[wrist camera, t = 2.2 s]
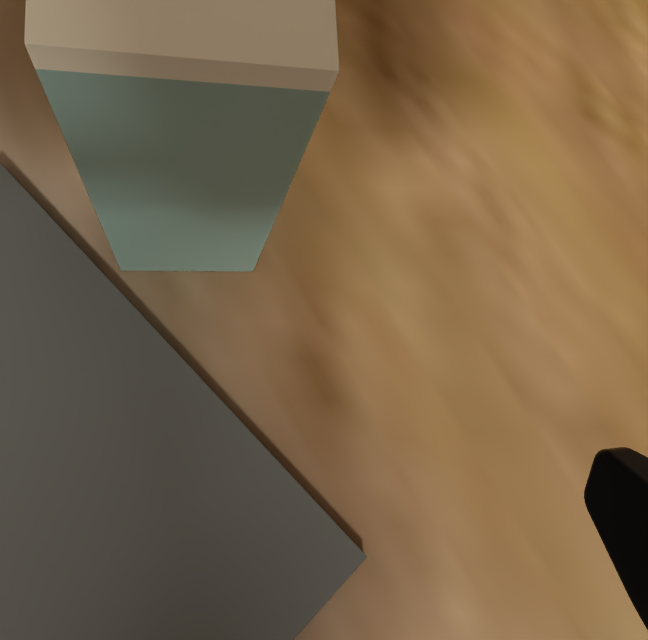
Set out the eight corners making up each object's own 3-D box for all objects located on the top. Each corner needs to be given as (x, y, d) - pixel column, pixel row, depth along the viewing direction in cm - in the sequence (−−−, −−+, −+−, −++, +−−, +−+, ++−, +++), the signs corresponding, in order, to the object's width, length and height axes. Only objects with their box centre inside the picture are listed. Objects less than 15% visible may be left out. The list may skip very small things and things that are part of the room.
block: (252, 271, 21) (339, 70, 9) (120, 270, 20) (24, 43, 8) (249, 153, 22) (324, -175, 10) (121, 147, 21) (33, -229, 9)
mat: (31, 927, 17) (27, 939, 16) (-426, 457, 16) (-441, 458, 16) (363, 554, 20) (366, 556, 20) (1, 165, 20) (-3, 160, 19)
